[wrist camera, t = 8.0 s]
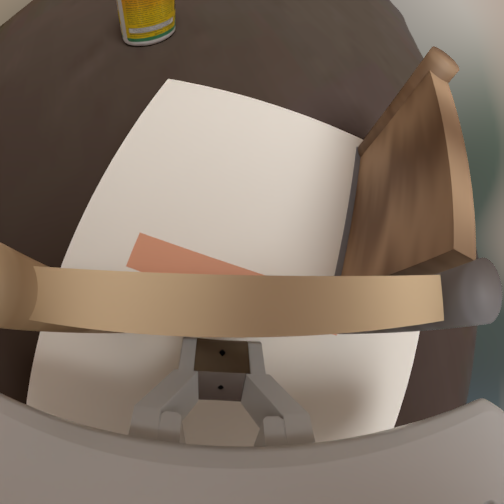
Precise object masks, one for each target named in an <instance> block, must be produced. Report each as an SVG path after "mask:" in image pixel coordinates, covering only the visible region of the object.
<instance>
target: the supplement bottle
mask: <svg viewBox="0 0 504 504" xmlns="http://www.w3.org/2000/svg"><path fill="white" fill-rule="evenodd" d="M116 2H117V9H118V15H119V21H120V27H121V33H122V37H123V40H124V42H125V43H127V44H128V45H132V46H147V45H152V44H156V43H159V42H161V41H163V40H165V39H167V38H169V37H170V36H171V35H172V34H173V32H174V31H175V0H116Z"/></svg>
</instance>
